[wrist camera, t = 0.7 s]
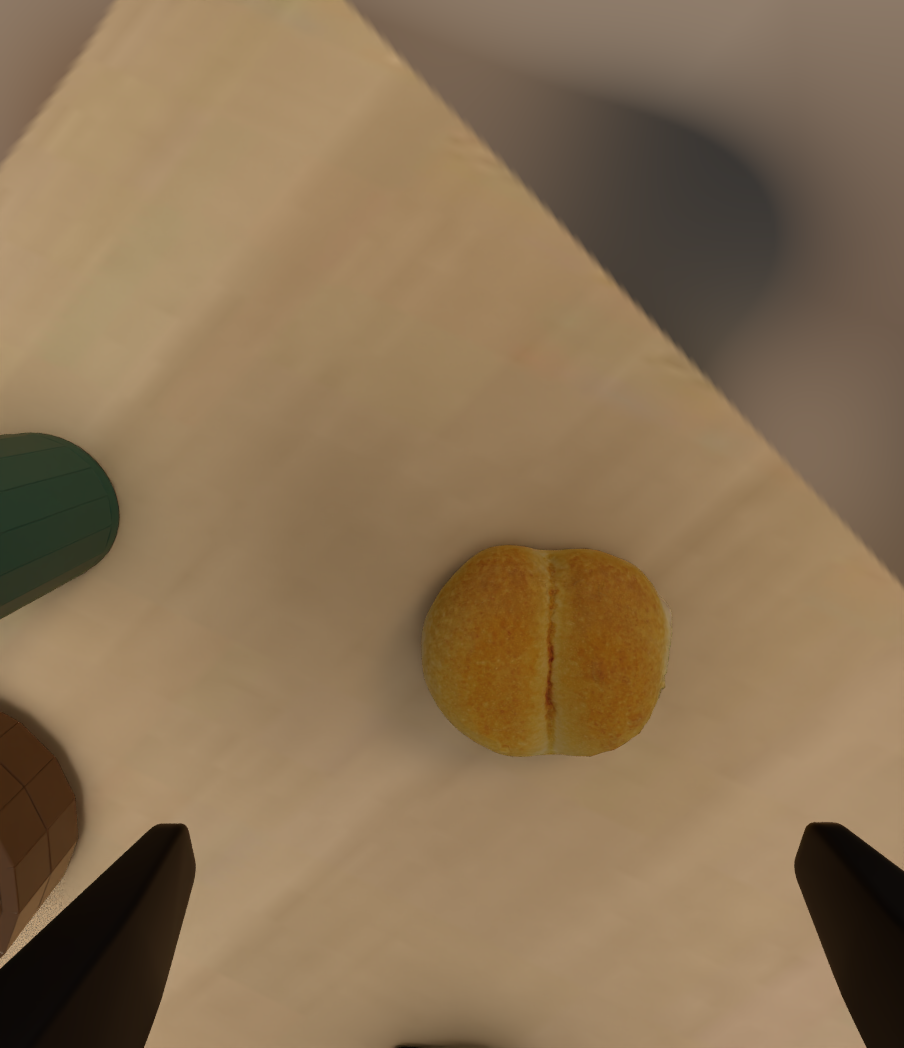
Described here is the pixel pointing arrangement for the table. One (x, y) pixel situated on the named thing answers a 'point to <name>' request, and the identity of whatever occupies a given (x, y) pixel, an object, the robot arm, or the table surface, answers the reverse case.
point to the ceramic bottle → (50, 516)
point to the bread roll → (547, 650)
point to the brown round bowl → (30, 827)
